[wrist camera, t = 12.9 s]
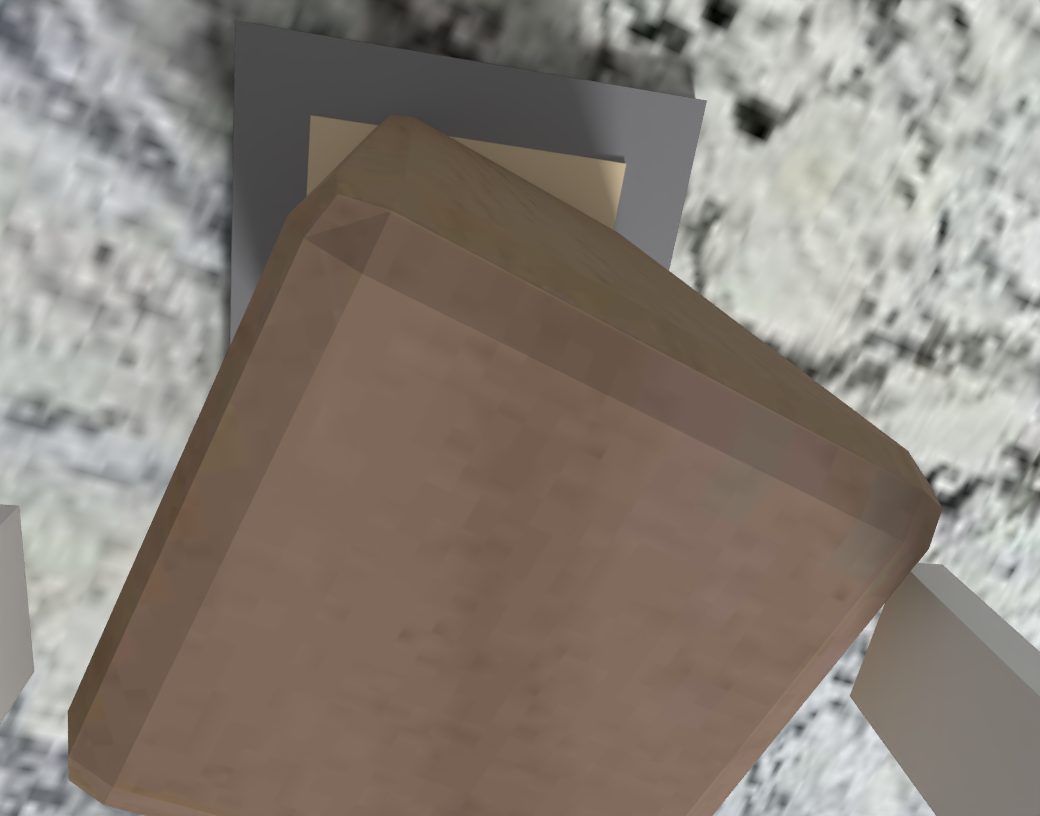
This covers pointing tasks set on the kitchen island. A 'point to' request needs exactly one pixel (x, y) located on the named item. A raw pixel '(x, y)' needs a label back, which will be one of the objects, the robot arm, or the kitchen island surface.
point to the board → (458, 114)
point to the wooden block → (486, 526)
